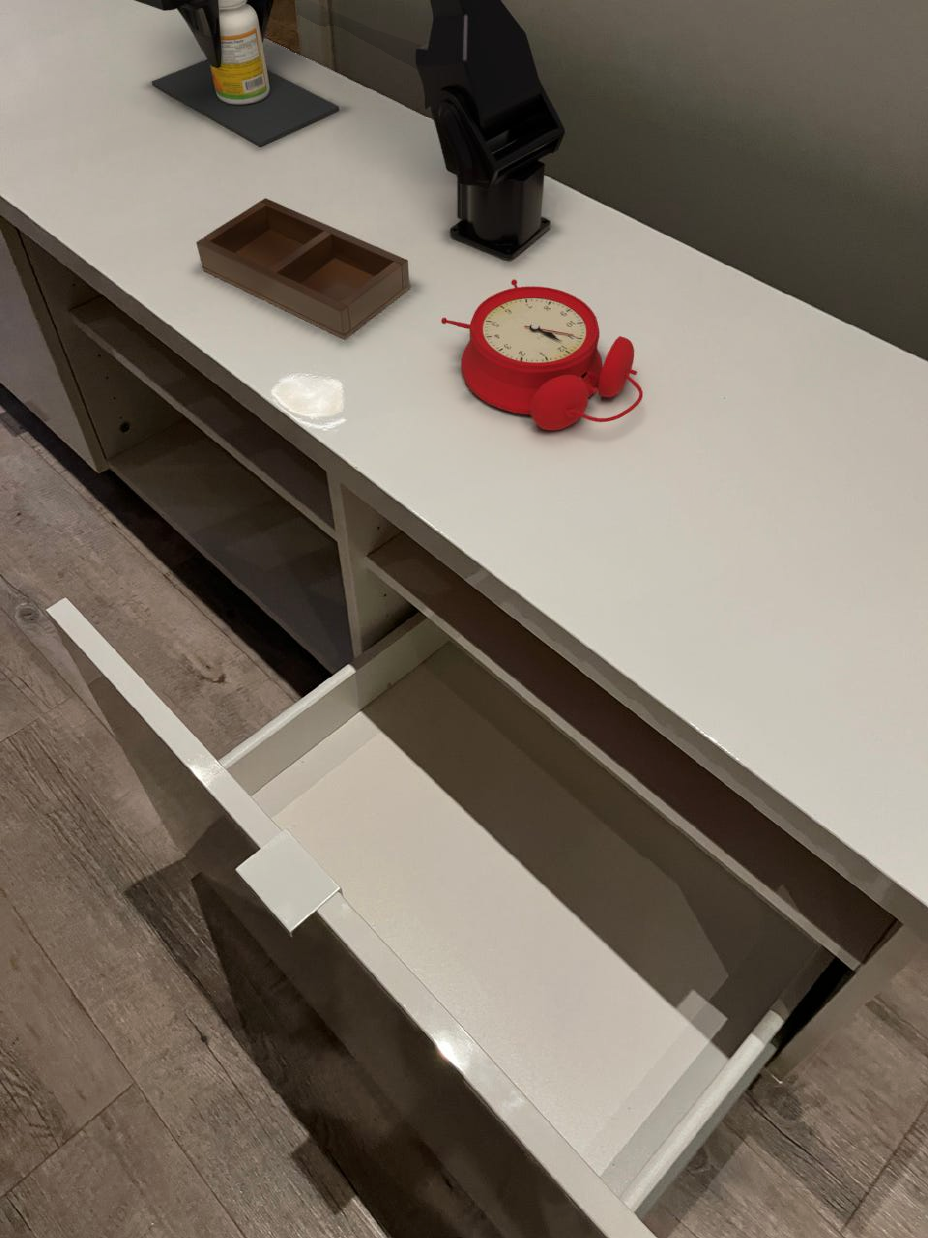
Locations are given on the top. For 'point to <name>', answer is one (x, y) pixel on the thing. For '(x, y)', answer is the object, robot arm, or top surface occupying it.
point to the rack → (304, 267)
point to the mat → (254, 121)
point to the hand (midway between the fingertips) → (237, 55)
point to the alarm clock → (542, 356)
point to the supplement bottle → (240, 56)
